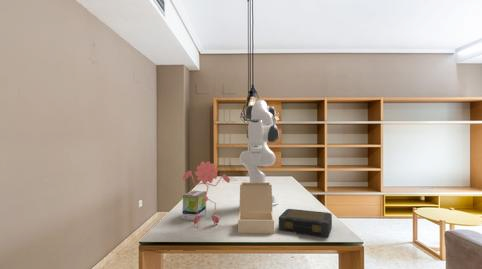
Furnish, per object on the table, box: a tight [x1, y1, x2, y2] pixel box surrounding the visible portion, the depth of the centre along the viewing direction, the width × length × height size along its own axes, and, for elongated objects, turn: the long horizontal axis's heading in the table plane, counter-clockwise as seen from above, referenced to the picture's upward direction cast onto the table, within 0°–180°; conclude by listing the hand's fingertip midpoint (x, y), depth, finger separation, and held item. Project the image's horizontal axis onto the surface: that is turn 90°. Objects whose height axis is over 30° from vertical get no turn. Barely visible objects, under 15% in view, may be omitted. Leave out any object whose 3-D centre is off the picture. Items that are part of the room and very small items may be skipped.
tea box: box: [182, 190, 207, 221], centre depth 172 cm, size 15×10×15 cm, turn 168°
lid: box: [238, 182, 273, 213], centre depth 161 cm, size 18×17×2 cm
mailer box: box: [237, 211, 275, 234], centre depth 149 cm, size 18×16×7 cm
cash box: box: [278, 208, 333, 238], centre depth 150 cm, size 25×20×8 cm
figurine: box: [182, 161, 231, 228], centre depth 158 cm, size 15×26×35 cm, turn 95°
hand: (255, 172), depth 160 cm, fingers closed
